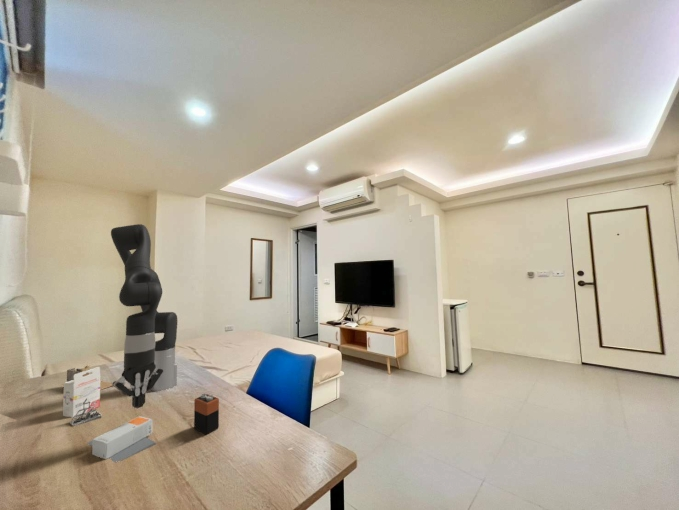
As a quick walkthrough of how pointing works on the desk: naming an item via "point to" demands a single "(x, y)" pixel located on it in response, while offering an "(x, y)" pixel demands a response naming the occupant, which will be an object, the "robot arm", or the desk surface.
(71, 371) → the ruin model on sheet
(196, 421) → the battery
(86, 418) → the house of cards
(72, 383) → the ink cartridge box
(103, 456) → the skincare box
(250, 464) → the desk surface
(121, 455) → the mat
